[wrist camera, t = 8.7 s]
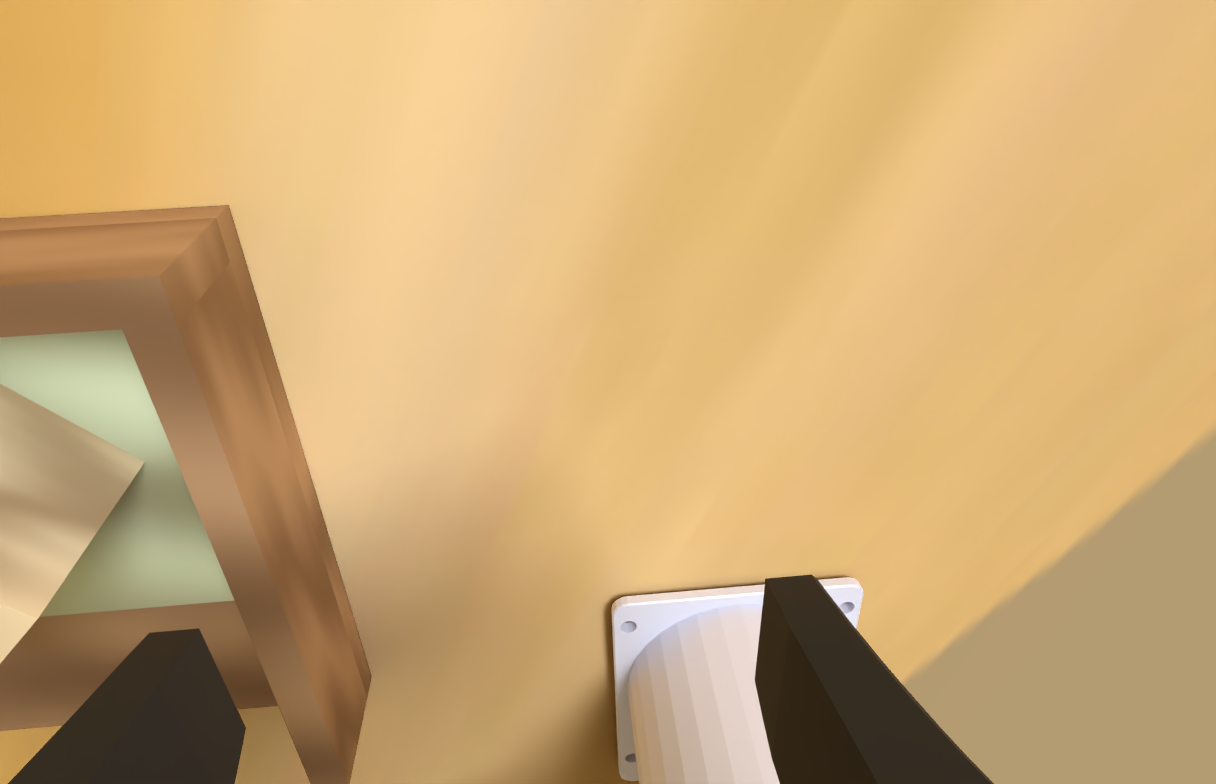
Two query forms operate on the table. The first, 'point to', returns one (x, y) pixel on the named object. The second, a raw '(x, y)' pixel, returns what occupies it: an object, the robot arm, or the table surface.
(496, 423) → the table surface
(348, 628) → the arena
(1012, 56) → the table surface
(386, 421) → the table surface
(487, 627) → the table surface
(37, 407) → the block
